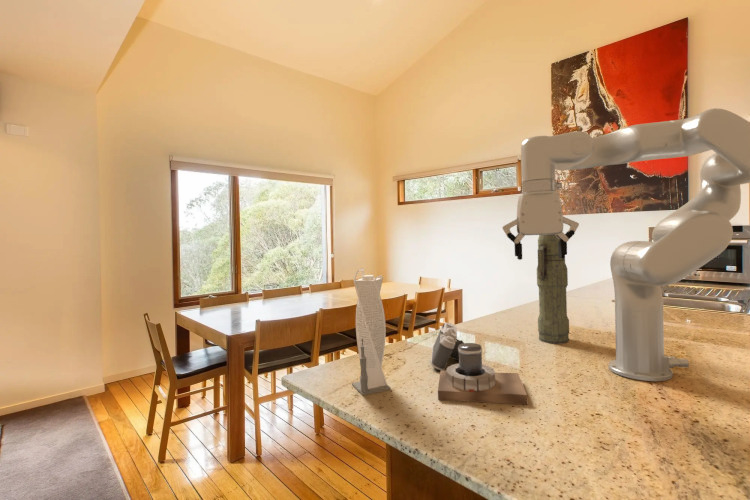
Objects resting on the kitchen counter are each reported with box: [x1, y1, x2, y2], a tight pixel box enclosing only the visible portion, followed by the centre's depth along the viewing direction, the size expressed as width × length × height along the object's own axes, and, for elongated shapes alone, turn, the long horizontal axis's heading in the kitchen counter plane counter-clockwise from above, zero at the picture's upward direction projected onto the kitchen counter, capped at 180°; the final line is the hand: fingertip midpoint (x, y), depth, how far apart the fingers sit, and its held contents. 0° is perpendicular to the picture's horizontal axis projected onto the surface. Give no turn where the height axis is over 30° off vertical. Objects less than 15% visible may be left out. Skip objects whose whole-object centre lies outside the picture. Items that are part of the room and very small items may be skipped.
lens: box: [458, 342, 483, 376], centre depth 85 cm, size 5×5×8 cm
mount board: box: [437, 362, 528, 405], centre depth 84 cm, size 18×12×4 cm, turn 77°
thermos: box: [536, 234, 570, 345], centre depth 119 cm, size 9×12×35 cm
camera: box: [430, 321, 465, 371], centre depth 104 cm, size 9×16×10 cm, turn 171°
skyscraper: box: [351, 267, 392, 396], centre depth 89 cm, size 8×8×28 cm
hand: (540, 258), depth 93 cm, fingers open, 9 cm apart
